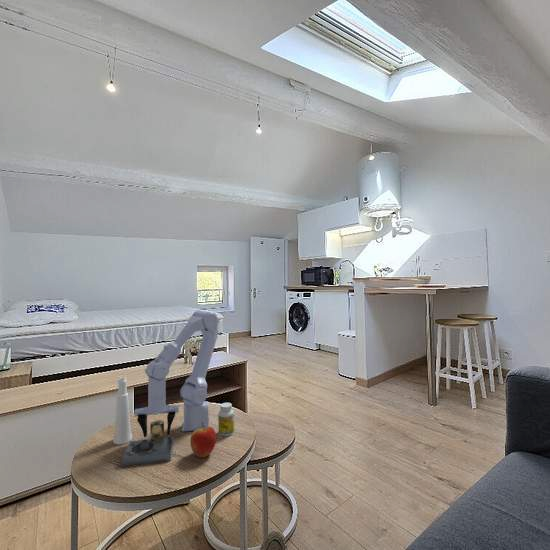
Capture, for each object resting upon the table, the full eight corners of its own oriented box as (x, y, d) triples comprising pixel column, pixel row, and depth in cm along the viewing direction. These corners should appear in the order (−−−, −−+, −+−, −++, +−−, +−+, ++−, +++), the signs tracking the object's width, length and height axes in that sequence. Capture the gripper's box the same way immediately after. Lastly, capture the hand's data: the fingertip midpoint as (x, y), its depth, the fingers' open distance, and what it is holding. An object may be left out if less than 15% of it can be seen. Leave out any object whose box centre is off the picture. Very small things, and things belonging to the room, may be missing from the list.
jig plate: (173, 444, 108) (173, 436, 108) (170, 460, 98) (170, 452, 98) (130, 448, 105) (130, 441, 105) (121, 466, 95) (121, 458, 95)
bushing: (164, 436, 113) (164, 419, 113) (163, 442, 109) (163, 425, 109) (151, 437, 112) (151, 420, 112) (149, 444, 108) (149, 426, 108)
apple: (193, 465, 95) (193, 431, 96) (188, 451, 103) (188, 421, 103) (219, 458, 99) (218, 426, 99) (212, 445, 106) (212, 416, 106)
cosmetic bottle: (109, 442, 109) (108, 378, 109) (124, 434, 115) (123, 373, 115) (121, 446, 106) (120, 381, 107) (135, 438, 112) (135, 376, 112)
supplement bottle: (236, 430, 117) (236, 402, 117) (230, 437, 112) (229, 408, 112) (222, 428, 119) (222, 400, 119) (215, 435, 113) (215, 406, 113)
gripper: (132, 401, 105) (132, 442, 105) (177, 398, 108) (177, 437, 108) (136, 394, 112) (137, 432, 112) (179, 390, 115) (179, 428, 115)
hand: (157, 434), depth 110 cm, fingers open, 7 cm apart
